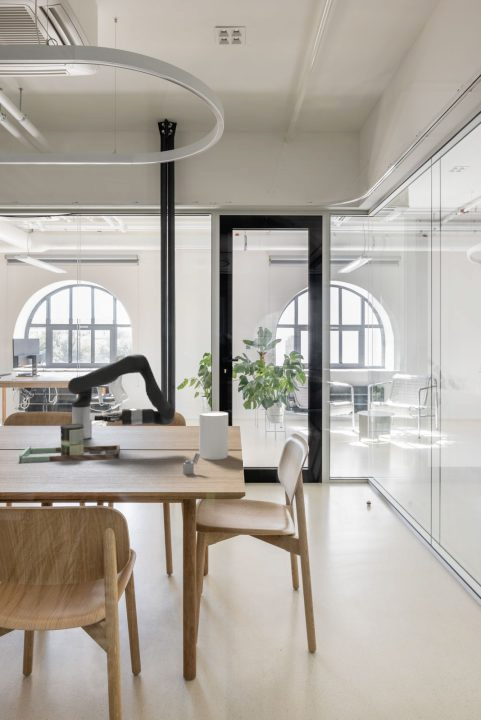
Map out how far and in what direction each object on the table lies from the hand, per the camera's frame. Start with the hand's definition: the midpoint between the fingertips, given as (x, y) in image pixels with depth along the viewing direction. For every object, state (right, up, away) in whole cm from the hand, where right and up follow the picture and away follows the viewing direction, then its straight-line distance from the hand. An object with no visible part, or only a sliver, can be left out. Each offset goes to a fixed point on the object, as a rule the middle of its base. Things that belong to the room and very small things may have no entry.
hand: (94, 418), depth 236 cm
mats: (+3, -17, +2) cm, 18 cm away
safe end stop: (-25, -17, -4) cm, 30 cm away
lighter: (+48, -19, -29) cm, 60 cm away
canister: (+56, -18, 0) cm, 59 cm away
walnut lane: (-10, -17, -1) cm, 20 cm away
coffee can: (-10, -18, -1) cm, 20 cm away
